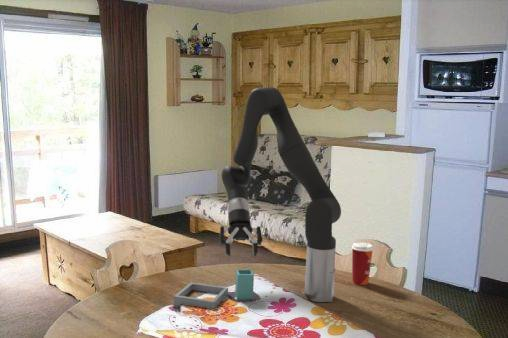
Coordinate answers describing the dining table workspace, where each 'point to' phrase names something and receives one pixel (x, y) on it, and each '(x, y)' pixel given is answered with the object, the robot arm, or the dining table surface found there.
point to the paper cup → (361, 262)
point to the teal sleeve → (244, 284)
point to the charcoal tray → (181, 298)
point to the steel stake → (255, 298)
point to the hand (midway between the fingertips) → (242, 255)
